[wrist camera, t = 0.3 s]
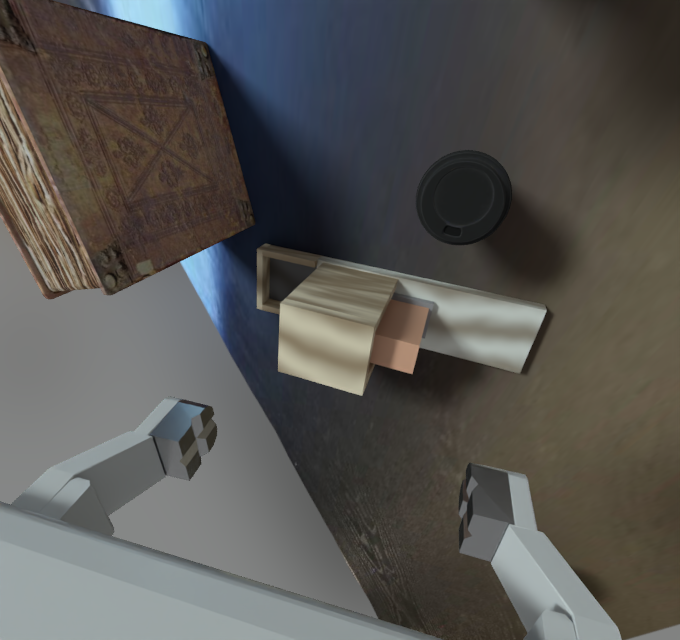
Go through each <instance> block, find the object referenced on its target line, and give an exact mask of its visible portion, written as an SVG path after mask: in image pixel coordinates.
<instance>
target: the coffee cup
mask: <svg viewBox="0 0 680 640" xmlns="http://www.w3.org/2000/svg"><path fill="white" fill-rule="evenodd" d="M511 199H512V188H511V182H510V179H509V176H508V174H507V172H506V170H505V169H504V168H503V166H502V165H501V164H500V163H499V162H498V161H497V160H496V159H494V158H493V157H491V156H490V155H487V154H485V153H482V152H479V151H473V150H463V151H457V152H454V153H450V154H448V155H446V156H444V157H442V158H440V159H439V160H438V161H436V162H435V163H434V164H433V165H432V166H431V167H430V168H429V169H428V170H427V171H426V173H425V174H424V176H423V177H422V179H421V181H420V184H419V186H418V190H417V195H416V209H417V213H418V217H419V219H420V222H421V223H422V225H423V227H424V228H425V229H426V231H427V232H428V233H429V234H430V235H431V236H433V237H434V238H436V239H437V240H439V241H441V242H444V243H447V244H451V245H468V244H473V243H476V242H478V241H481V240H483V239H485V238H486V237H488V236H489V235H491V234H492V233H493V232H494V231H495V230H496V229H497V228H498V227H499V226H500V225H501V223H502V222H503V220H504V219H505V217H506V215H507V213H508V211H509V208H510V204H511Z"/></svg>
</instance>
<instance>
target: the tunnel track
mask: <svg viewBox="0 0 680 640" xmlns="http://www.w3.org/2000/svg"><path fill="white" fill-rule="evenodd" d="M394 293H398V294H403V295H407V296H411V297H416V298H420V299H424V300H429V301H433V302H434V305H433V309H432V313H431V317H430V321H429V324H428V328H427V332H426V336H425V339H424V338H421V342H420V346H419V348H423V349H427V350H431V351H435V352H439V353H443V354H447V355H450V356H454V357H458V358H462V359H466V360H470V361H474V362H477V363H481V364H485V365H489V366H493V367H497V368H501V369H504V370H508V371H512V372H516V373H520V372H521V369H522V367H523V365H524V363H525V360H526V358H527V356H528V353H529V351H530V349H531V346H532V344H533V342H534V339H535V337H536V335H537V332H538V330H539V328H540V326H541V323H542V321H543V319H544V316H545V314H546V312H547V309H546V307H545V305H544V304H540V303H535V302H531V301H526V300H521V299H517V298H512V297H508V296H503V295H499V294H494V293H490V292H485V291H480V290H476V289H471V288H467V287H462V286H458V285H453V284H449V283H444V282H439V281H435V280H430V279H426V278H421V277H417V276H412V275H408V274H403V273H398V272H394V271H389V270H385V269H380V268H376V267H371V266H366V265H362V264H357V263H353V262H348V261H344V260H339V259H335V258H330V257H325V256H321V255H316V254H312V253H307V252H303V251H298V250H294V249H289V248H284V247H280V246H275V245H271V244H266V243H265V244H264V245H262V246H260V247H259V248H257V309H261V310H265V311H268V312H272V313H276V314H280V323H279V354H278V371H280V372H283V373H286V374H290V375H293V376H297V377H300V378H303V379H307V380H310V381H314V382H317V383H320V384H324V385H327V386H330V387H334V388H337V389H341V390H344V391H347V392H351V393H354V394H357V395H361V396H362V395H363V393H364V390H365V388H366V385H367V383H368V381H369V378H370V376H371V373H372V371H373V368H374V366H375V364H373V363H370V359H371V353H372V348H373V342H374V337H375V332H376V330H377V327H378V325H379V323H380V321H381V319H382V317H383V315H384V313H385V311H386V308H387V306H388V304H389V302H390V300H391V298H392V296H393V294H394Z"/></svg>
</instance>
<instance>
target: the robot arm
mask: <svg viewBox="0 0 680 640" xmlns="http://www.w3.org/2000/svg"><path fill="white" fill-rule="evenodd" d="M213 415H214V412H213V408H212V407H211V406H207V405H203V404H199V403H195V402H191V401H187V400H183V399H179V398H175V397H167V398H165V399H164V400H163V401H162V402H161V403H160V404H159V405H158V406H157V407H156V408H155V409H154V410H153V412H152V413H151V414H150V415H149V416H148V417H147V418H146V419H145V420H144V421H143V422H142V423H141V424H140V426H138V428H137V429H136V430H135V431H134V432H132V431H128V432H126V433H124V434H122V435H120V436H118V437H115V438H113V439H111V440H109V441H107V442H105V443H103V444H100V445H98V446H96V447H94V448H92V449H89V450H87V451H85V452H83V453H81V454H79V455H76V456H74V457H72V458H70V459H68V460H65V461H64V462H61V463H59V464H57V465H55V466H52V467H50V468H49V469H48V470H47V471H46V472H45V473H44V474H43V475H41V477H39V479H37V480H36V481H35V482H34V483H33V484H32V485H31V486H30V487H29V488H28V489H27V490H25V492H23V493H22V494H21V495H20V496H19V497H18V498H17V499H16V500H15V501H14V502H13V503H12V504H11V505H10V504H7V503H4V502H1V501H0V640H443V639H440V638H437V637H434V636H431V635H427V634H424V633H421V632H418V631H415V630H411V629H408V628H405V627H402V626H399V625H395V624H392V623H389V622H386V621H383V620H379V619H376V618H373V617H370V616H367V615H363V614H360V613H357V612H354V611H351V610H347V609H344V608H341V607H338V606H334V605H331V604H328V603H325V602H322V601H318V600H315V599H312V598H309V597H305V596H302V595H299V594H296V593H293V592H290V591H286V590H283V589H280V588H277V587H274V586H270V585H267V584H264V583H261V582H257V581H254V580H251V579H247V578H245V577H242V576H238V575H235V574H232V573H229V572H225V571H222V570H219V569H216V568H213V567H209V566H206V565H203V564H200V563H196V562H193V561H190V560H187V559H184V558H180V557H177V556H174V555H171V554H167V553H164V552H161V551H158V550H155V549H152V548H148V547H145V546H142V545H139V544H136V543H132V542H129V541H126V540H122V539H119V538H116V537H113V536H112V535H113V533H114V527H113V525H112V523H111V521H110V519H109V517H108V516H109V515H110V514H112V513H113V512H114V511H116V510H118V509H119V508H121V507H122V506H123V505H125V504H126V503H128V502H129V501H131V500H132V499H133V498H135V497H136V496H138V495H139V494H141V493H143V492H144V491H145V490H147V489H148V488H150V487H151V486H153V485H154V484H156V483H157V482H159V481H160V480H161V479H163V478H164V477H165V475H167V476H172V477H176V478H180V479H184V480H189V481H190V479H191V478H192V477H193V475H194V474H195V472H196V471H197V469H198V468H199V466H200V465H201V456H203V455H205V454H207V453H208V452H209V451H210V450H211V448H212V447H213V445H214V442H215V439H216V436H217V426H216V423H215V422H214V421H213V420H212V419H211V418H212V417H213ZM459 515H460V517H461V518H462V521H461V524H460V527H459V552H460V553H463V554H466V555H470V556H473V557H477V558H480V559H483V560H487V561H490V562H491V565H492V566H493V568H494V570H495V572H496V574H497V576H498V578H499V580H500V581H501V583H502V585H503V587H504V589H505V591H506V593H507V595H508V596H509V598H510V600H511V602H512V604H513V606H514V608H515V610H516V612H517V613H518V615H519V617H520V619H521V621H522V623H523V625H524V627H525V628H526V630H527V632H528V634H527V635H526V637H525V638H524V639H523V640H621V636H620V633H619V630H618V627H617V626H616V625H615V624H614V622H613V621H612V620H611V618H610V617H609V616H608V615H607V613H606V612H605V611H604V610H603V608H602V607H601V606H600V604H599V603H598V602H597V601H596V599H595V598H594V597H593V595H592V594H591V593H590V592H589V590H588V589H587V588H586V586H585V585H584V584H583V583H582V581H581V580H580V579H579V577H578V576H577V575H576V574H575V572H574V571H573V570H572V568H571V567H570V566H569V565H568V563H567V562H566V561H565V559H564V558H563V557H562V556H561V554H560V553H559V552H558V551H557V549H556V548H555V547H554V545H553V544H552V543H551V542H550V540H549V539H548V538H547V536H546V535H545V534H544V533H543V532H540V531H537V525H536V520H535V515H534V510H533V504H532V499H531V494H530V489H529V483H528V478H527V477H526V475H524V474H520V473H515V472H511V471H505V470H503V469H498V468H493V467H488V466H484V465H479V464H474V463H469V464H468V466H467V469H466V479H465V480H463V481H462V485H461V489H460V495H459Z"/></svg>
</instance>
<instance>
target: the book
mask: <svg viewBox="0 0 680 640" xmlns="http://www.w3.org/2000/svg"><path fill="white" fill-rule="evenodd" d="M0 216H1V218H2V220H3V222H4V223H5V225H6V227H7V229H8V231H9V233H10V235H11V237H12V238H13V240H14V242H15V244H16V246H17V248H18V249H19V251H20V253H21V255H22V257H23V259H24V261H25V263H26V264H27V266H28V268H29V270H30V272H31V274H32V275H33V277H34V279H35V281H36V283H37V285H38V286H39V288H40V290H41V292H42V294H43V296H44V297H45V298H47V299H54V298H56V297H59V296H61V295H63V294H66V293H68V292H70V291H73V290H81V289H93V288H101V290H102V292H103V294H104V295H113V294H115V293H117V292H119V291H121V290H123V289H125V288H127V287H129V286H131V285H133V284H135V283H137V282H139V281H141V280H143V279H145V278H147V277H149V276H152V275H154V274H155V273H157V272H160V271H162V270H164V269H166V268H168V267H170V266H172V265H174V264H176V263H178V262H180V261H182V260H184V259H186V258H188V257H190V256H192V255H194V254H196V253H198V252H200V251H202V250H204V249H206V248H208V247H210V246H212V245H214V244H217V243H219V242H221V241H223V240H225V239H227V238H229V237H231V236H233V235H235V234H237V233H239V232H241V231H243V230H245V229H247V228H249V227H251V226H253V225H255V218H254V214H253V210H252V207H251V203H250V199H249V196H248V192H247V189H246V185H245V181H244V178H243V174H242V170H241V167H240V163H239V159H238V156H237V152H236V148H235V145H234V141H233V137H232V134H231V130H230V126H229V123H228V119H227V115H226V112H225V108H224V104H223V101H222V97H221V93H220V90H219V86H218V82H217V79H216V75H215V71H214V68H213V64H212V60H211V57H210V53H209V49H208V46H207V44H206V43H205V42H202V41H199V40H195V39H191V38H188V37H184V36H180V35H177V34H173V33H169V32H166V31H162V30H158V29H155V28H151V27H147V26H144V25H140V24H136V23H133V22H129V21H125V20H122V19H118V18H114V17H111V16H107V15H103V14H100V13H96V12H92V11H89V10H85V9H81V8H78V7H74V6H70V5H67V4H63V3H59V2H56V1H52V0H0Z"/></svg>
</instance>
